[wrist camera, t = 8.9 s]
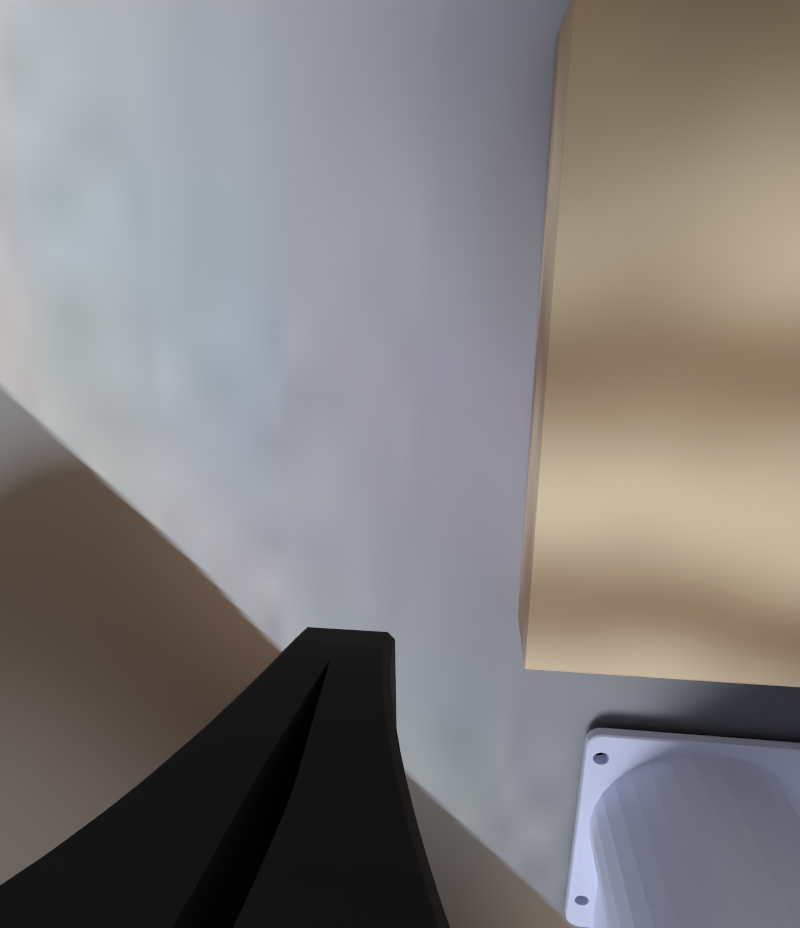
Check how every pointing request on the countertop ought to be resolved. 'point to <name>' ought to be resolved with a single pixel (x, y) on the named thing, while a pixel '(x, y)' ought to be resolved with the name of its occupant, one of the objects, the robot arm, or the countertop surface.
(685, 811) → the robot arm
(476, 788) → the countertop surface
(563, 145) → the board
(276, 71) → the countertop surface
